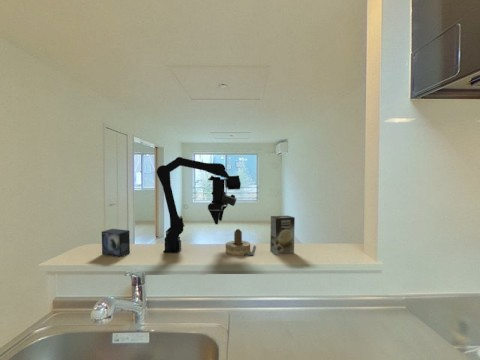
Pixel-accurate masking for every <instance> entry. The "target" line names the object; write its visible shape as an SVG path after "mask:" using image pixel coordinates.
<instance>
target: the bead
mask: <svg viewBox="0 0 480 360" xmlns="http://www.w3.org/2000/svg"><path fill="white" fill-rule="evenodd" d="M225 252H226V253H227V255H228V254H229V255H232V256H236V255H237V256H241V255H243V256H244V254H251V243H250V242H249V241H246V240H242V245H234V240H230V241H227V242H225Z"/></svg>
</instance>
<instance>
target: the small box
mask: <svg viewBox="0 0 480 360" xmlns="http://www.w3.org/2000/svg"><path fill="white" fill-rule="evenodd" d="M130 240H131V239H130V230H129V229H128V230H127V229H121V228H120V229H117V228H110V229H106V230H102V231H101V250H102V251H101V255H102V256H103V255H104V256H109V257H115V258H122V257H124V255H125V256H127V255H130V254H131V250H130V249H131V247H130V245H131V244H130V242H131V241H130ZM129 253H130V254H129Z"/></svg>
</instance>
